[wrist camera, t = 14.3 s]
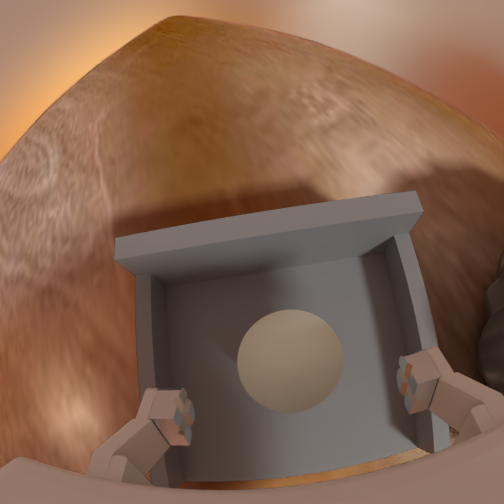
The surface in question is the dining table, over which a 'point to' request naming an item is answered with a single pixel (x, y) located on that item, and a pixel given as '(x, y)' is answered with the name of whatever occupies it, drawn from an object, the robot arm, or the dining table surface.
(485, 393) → the robot arm
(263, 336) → the dome-topped cream cylinder
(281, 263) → the grey open tray
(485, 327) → the bundt pan
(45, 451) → the dining table surface
